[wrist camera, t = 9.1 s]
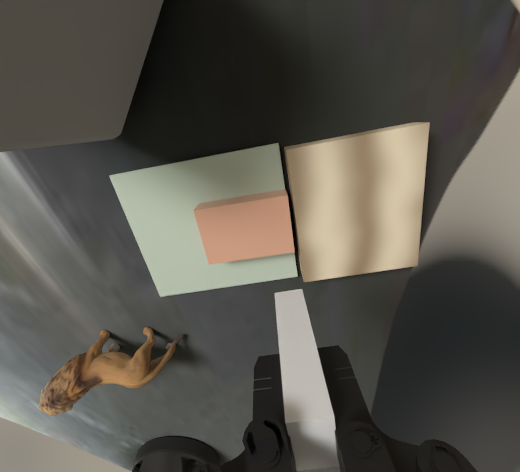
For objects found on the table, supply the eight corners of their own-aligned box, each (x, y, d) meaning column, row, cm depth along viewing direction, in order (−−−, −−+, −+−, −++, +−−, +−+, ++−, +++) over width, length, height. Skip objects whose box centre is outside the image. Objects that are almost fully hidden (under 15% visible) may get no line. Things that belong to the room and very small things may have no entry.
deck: (300, 270, 30) (304, 282, 28) (284, 147, 24) (286, 149, 22) (405, 254, 29) (417, 265, 27) (413, 122, 23) (429, 122, 21)
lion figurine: (93, 359, 37) (44, 428, 28) (75, 332, 34) (16, 398, 26) (190, 345, 35) (168, 413, 27) (177, 316, 33) (149, 380, 25)
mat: (161, 294, 32) (160, 296, 31) (111, 174, 26) (109, 175, 25) (297, 274, 30) (297, 276, 30) (278, 142, 24) (278, 143, 24)
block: (213, 253, 29) (208, 264, 26) (199, 203, 26) (193, 210, 24) (292, 242, 28) (294, 252, 26) (285, 189, 25) (287, 195, 23)
